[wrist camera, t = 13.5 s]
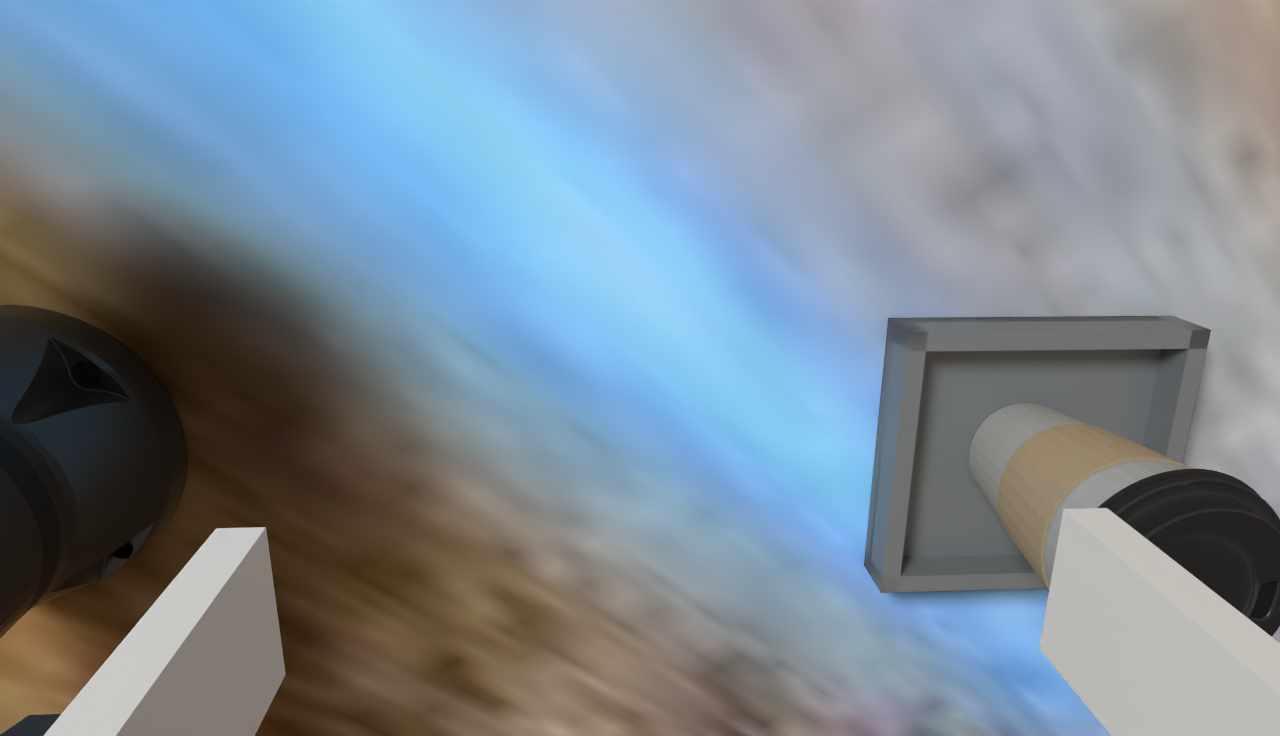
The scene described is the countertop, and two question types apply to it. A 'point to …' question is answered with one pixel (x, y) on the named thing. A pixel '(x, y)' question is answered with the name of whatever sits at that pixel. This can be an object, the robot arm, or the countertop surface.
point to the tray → (979, 386)
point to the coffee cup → (1127, 502)
